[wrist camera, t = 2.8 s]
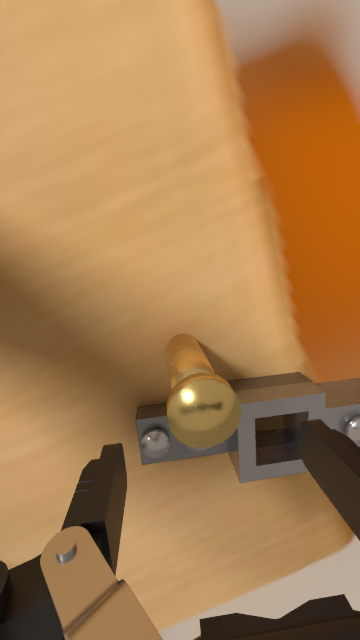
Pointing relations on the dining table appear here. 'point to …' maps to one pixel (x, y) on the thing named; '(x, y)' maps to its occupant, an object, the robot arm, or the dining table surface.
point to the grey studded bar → (256, 402)
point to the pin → (198, 397)
